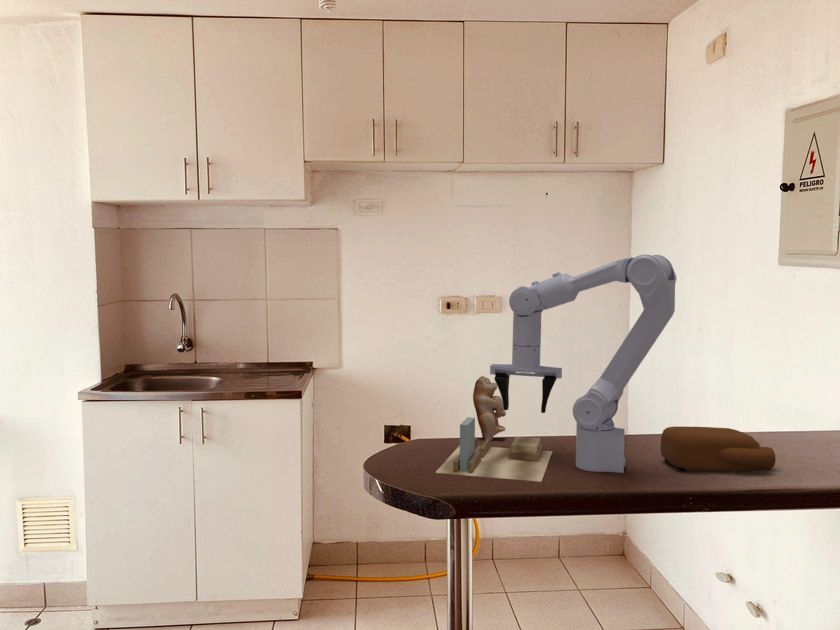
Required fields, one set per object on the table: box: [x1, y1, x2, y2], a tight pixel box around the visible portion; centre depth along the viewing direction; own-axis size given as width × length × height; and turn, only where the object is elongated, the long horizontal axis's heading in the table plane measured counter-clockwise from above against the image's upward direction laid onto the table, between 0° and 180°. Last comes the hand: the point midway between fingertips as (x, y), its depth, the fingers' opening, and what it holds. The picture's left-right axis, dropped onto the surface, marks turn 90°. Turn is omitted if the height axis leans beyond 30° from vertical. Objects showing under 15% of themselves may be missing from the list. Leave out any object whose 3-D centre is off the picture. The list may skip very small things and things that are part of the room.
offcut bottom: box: [508, 444, 543, 462], centre depth 148 cm, size 6×8×2 cm
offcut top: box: [510, 436, 541, 454], centre depth 148 cm, size 5×7×2 cm
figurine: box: [472, 375, 507, 441], centre depth 163 cm, size 6×8×15 cm
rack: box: [435, 436, 553, 487], centre depth 144 cm, size 20×22×3 cm
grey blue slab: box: [459, 416, 476, 472], centre depth 140 cm, size 2×7×9 cm, turn 164°
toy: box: [660, 426, 777, 473], centre depth 144 cm, size 15×8×20 cm
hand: (524, 410), depth 148 cm, fingers open, 7 cm apart
